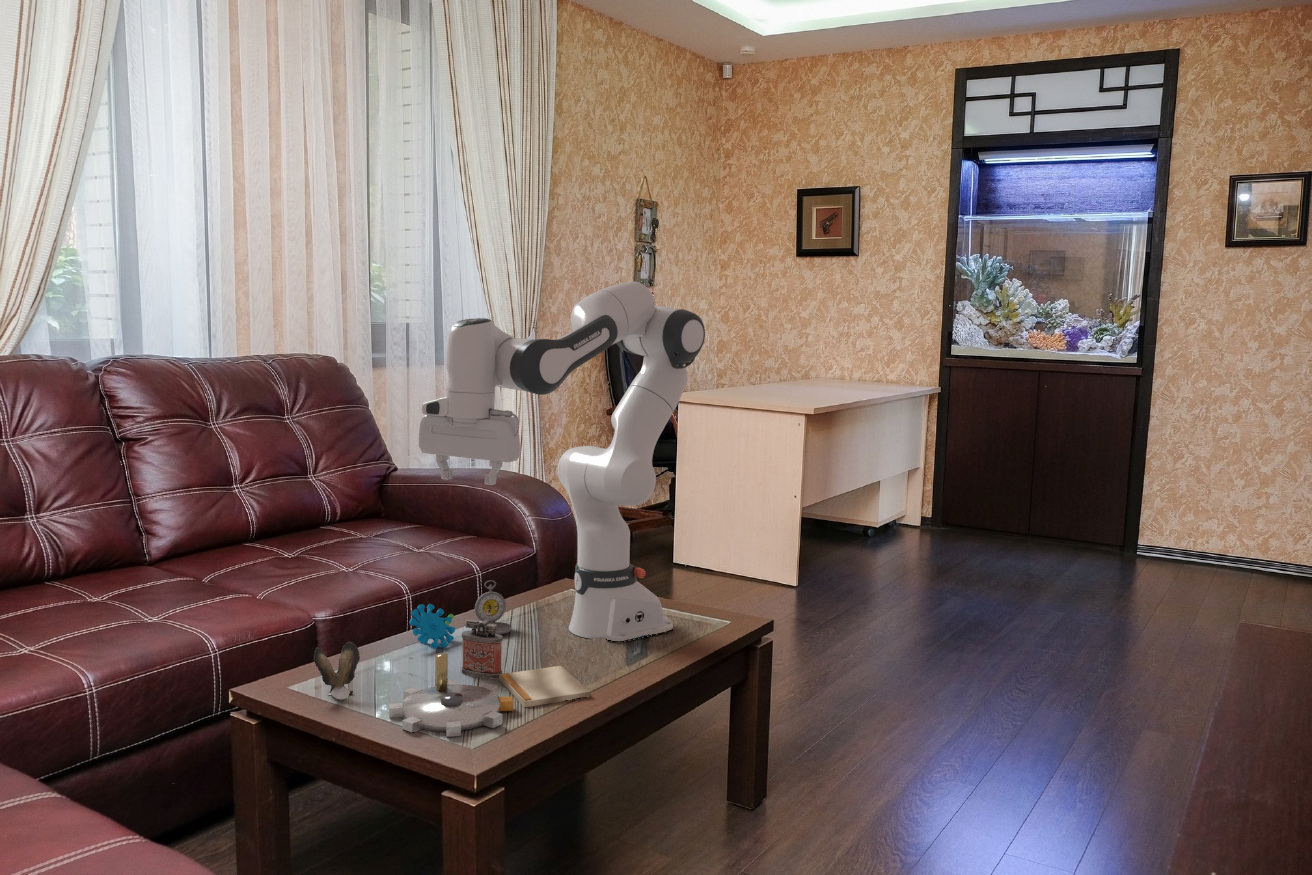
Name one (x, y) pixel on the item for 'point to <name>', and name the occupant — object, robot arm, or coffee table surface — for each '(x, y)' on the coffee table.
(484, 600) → the pocket watch
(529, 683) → the pad
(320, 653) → the eagle figurine
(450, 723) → the sprocket
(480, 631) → the lighter
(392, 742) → the coffee table surface
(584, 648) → the coffee table surface
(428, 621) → the gear
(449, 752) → the coffee table surface
